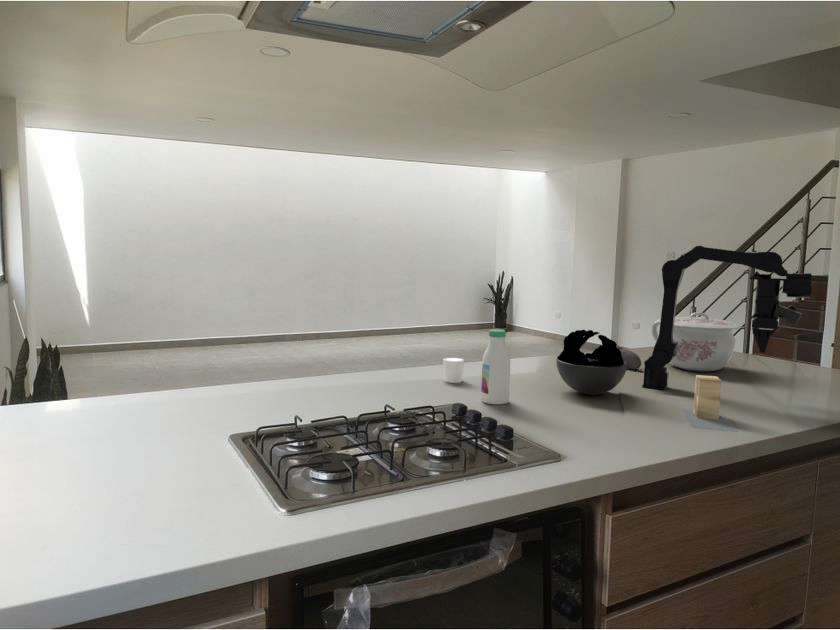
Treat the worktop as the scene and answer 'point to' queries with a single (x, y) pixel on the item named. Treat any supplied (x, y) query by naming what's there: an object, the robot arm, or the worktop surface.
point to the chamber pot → (701, 342)
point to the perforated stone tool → (630, 358)
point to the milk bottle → (496, 370)
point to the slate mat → (710, 422)
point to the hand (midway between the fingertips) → (762, 350)
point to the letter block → (707, 397)
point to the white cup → (453, 369)
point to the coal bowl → (590, 364)
